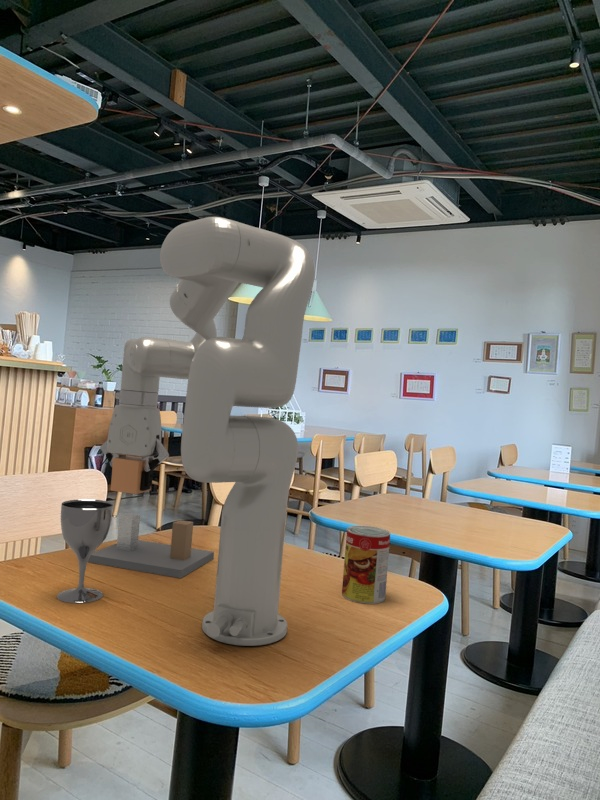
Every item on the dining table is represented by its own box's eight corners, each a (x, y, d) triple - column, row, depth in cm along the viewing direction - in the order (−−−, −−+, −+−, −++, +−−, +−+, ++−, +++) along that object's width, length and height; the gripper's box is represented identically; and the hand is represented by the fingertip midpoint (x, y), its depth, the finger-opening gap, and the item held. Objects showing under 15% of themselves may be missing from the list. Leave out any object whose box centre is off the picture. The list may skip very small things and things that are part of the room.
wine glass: (45, 602, 92) (53, 506, 92) (64, 586, 99) (71, 497, 99) (97, 605, 92) (104, 510, 92) (111, 589, 100) (118, 501, 100)
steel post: (129, 551, 118) (132, 516, 118) (116, 549, 119) (119, 514, 119) (137, 548, 121) (140, 514, 121) (124, 546, 122) (127, 512, 122)
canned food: (349, 586, 112) (354, 523, 112) (389, 594, 109) (394, 530, 109) (335, 598, 104) (341, 530, 104) (378, 607, 101) (384, 538, 101)
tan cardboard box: (136, 494, 117) (138, 461, 117) (110, 490, 118) (113, 457, 118) (150, 490, 122) (153, 458, 122) (126, 486, 124) (128, 455, 124)
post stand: (180, 578, 108) (184, 532, 108) (87, 562, 114) (90, 518, 114) (213, 558, 123) (216, 518, 123) (129, 545, 128) (132, 506, 128)
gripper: (91, 396, 119) (83, 484, 119) (167, 404, 114) (159, 496, 114) (112, 396, 126) (105, 480, 126) (185, 404, 121) (177, 490, 122)
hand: (131, 487), depth 120 cm, fingers closed on tan cardboard box, 5 cm apart
